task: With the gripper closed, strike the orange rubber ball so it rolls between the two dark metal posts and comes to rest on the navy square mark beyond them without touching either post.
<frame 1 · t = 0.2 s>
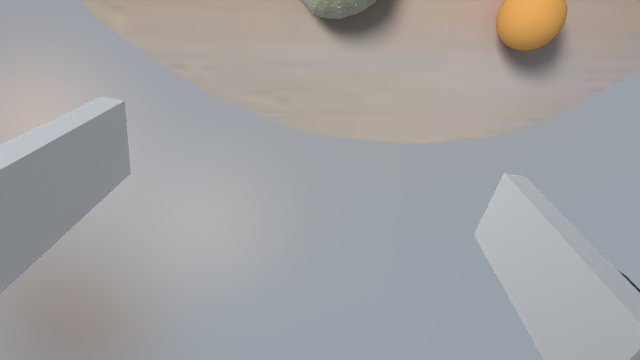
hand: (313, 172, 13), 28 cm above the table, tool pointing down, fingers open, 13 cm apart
ball: (530, 18, 32), on the table
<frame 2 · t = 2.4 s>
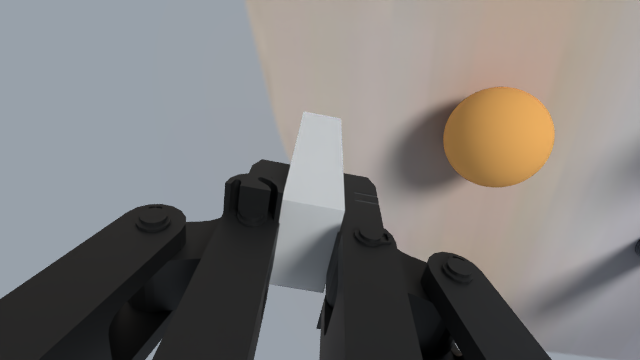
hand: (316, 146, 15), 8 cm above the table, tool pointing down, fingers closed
ball: (495, 137, 20), on the table
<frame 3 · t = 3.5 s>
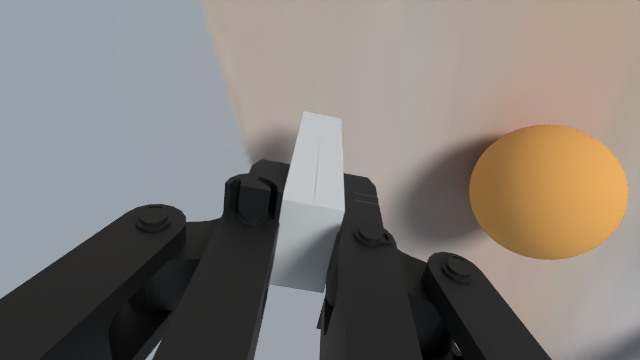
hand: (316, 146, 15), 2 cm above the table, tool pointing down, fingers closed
ball: (540, 191, 15), on the table
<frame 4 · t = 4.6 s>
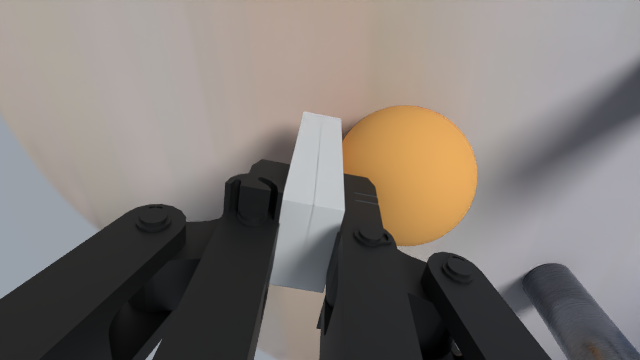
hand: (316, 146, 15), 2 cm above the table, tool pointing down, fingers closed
ball: (402, 176, 14), on the table
post 1: (546, 281, 20), on the table
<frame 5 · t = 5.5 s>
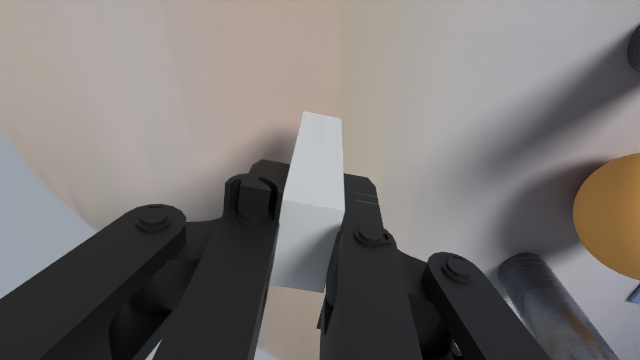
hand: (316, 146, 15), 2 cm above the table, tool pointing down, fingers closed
post 1: (521, 271, 20), on the table
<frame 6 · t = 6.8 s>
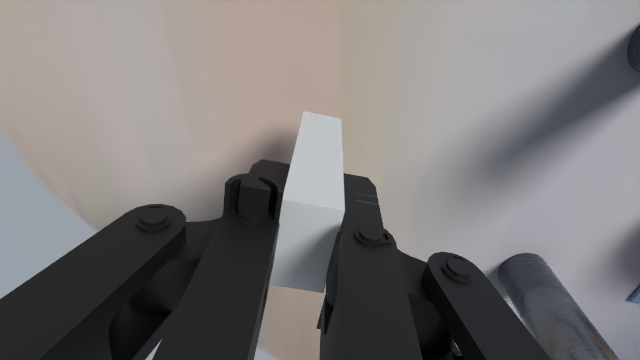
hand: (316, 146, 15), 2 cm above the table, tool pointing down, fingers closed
post 1: (521, 271, 20), on the table
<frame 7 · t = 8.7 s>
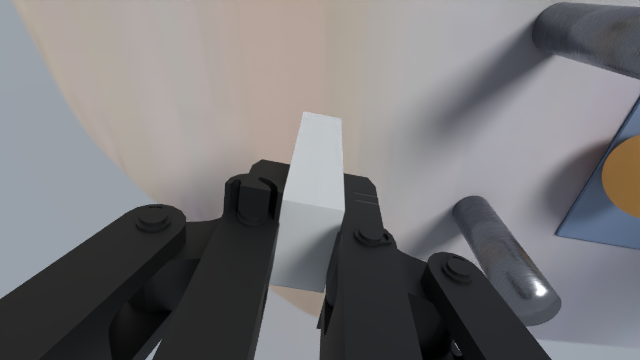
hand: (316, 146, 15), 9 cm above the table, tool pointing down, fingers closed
post 2: (556, 27, 20), on the table
post 1: (471, 211, 26), on the table
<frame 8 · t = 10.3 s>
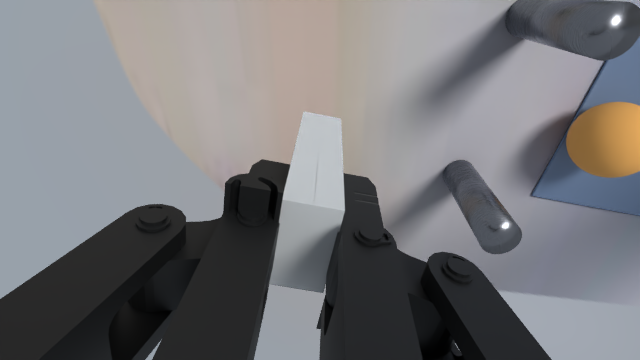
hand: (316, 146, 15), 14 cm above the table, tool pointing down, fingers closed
post 2: (525, 17, 25), on the table
ball: (611, 140, 26), on the table
post 1: (458, 173, 31), on the table
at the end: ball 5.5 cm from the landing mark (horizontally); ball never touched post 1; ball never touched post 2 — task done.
